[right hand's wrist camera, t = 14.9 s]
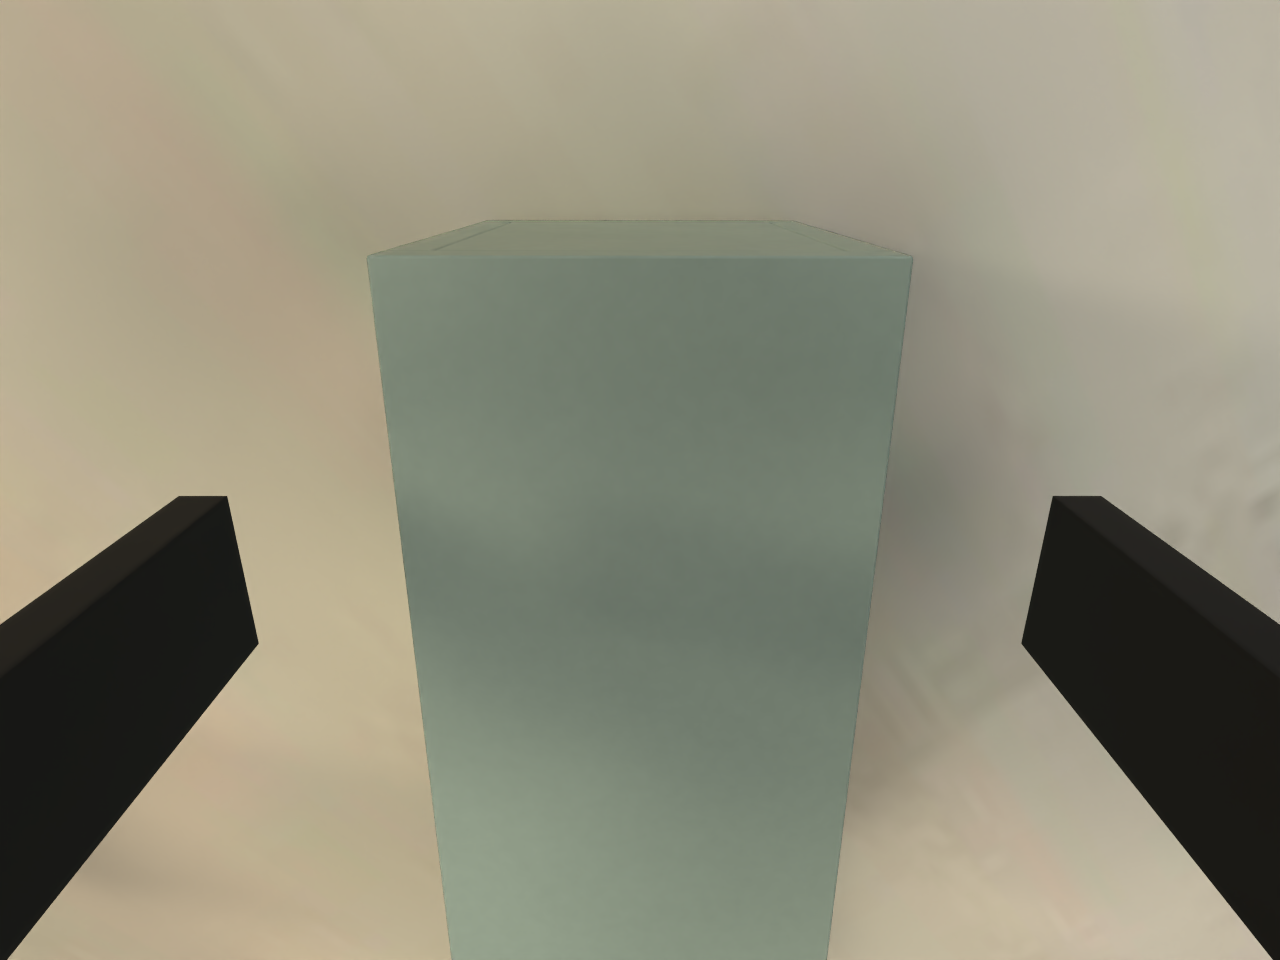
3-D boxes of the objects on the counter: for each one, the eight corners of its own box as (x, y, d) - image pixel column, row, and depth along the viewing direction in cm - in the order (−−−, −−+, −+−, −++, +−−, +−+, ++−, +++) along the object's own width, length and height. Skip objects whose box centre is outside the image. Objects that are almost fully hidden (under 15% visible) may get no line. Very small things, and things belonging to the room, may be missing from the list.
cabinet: (760, 725, 32) (821, 1008, 21) (519, 725, 32) (456, 1007, 21) (795, 220, 25) (914, 255, 14) (485, 220, 25) (365, 255, 14)
